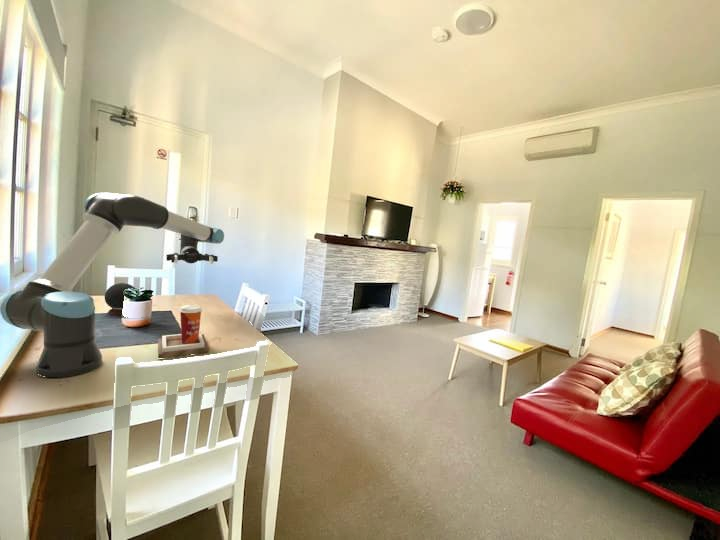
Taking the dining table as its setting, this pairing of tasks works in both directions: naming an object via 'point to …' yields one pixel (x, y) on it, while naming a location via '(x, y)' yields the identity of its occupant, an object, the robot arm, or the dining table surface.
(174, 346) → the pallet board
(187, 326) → the paper cup
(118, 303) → the round bulbous part
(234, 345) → the dining table surface
